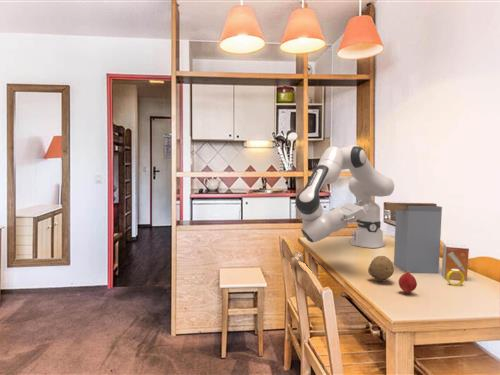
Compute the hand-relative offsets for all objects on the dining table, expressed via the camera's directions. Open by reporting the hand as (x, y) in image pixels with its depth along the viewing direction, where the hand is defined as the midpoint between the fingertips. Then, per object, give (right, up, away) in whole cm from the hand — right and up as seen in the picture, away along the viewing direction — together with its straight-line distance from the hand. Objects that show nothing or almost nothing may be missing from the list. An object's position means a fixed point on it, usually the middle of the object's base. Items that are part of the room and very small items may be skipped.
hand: (367, 202), depth 155 cm
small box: (+33, -30, -6) cm, 45 cm away
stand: (+22, -29, +5) cm, 37 cm away
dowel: (+18, -3, +1) cm, 18 cm away
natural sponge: (+1, -30, -13) cm, 33 cm away
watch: (+28, -31, -16) cm, 44 cm away
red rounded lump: (+5, -31, -26) cm, 41 cm away
